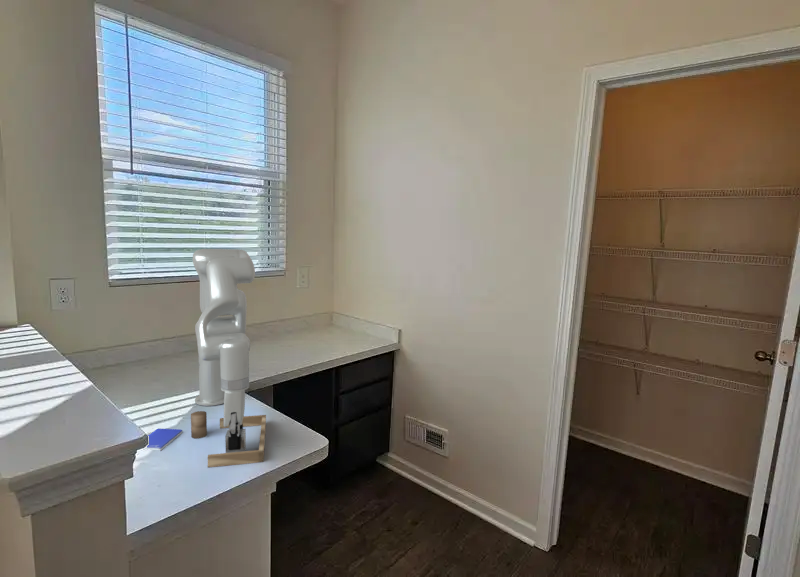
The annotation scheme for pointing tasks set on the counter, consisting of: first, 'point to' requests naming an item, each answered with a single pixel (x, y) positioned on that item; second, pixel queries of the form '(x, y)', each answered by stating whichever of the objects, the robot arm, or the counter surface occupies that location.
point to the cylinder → (198, 424)
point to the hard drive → (162, 438)
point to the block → (243, 441)
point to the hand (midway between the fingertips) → (235, 442)
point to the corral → (244, 456)
